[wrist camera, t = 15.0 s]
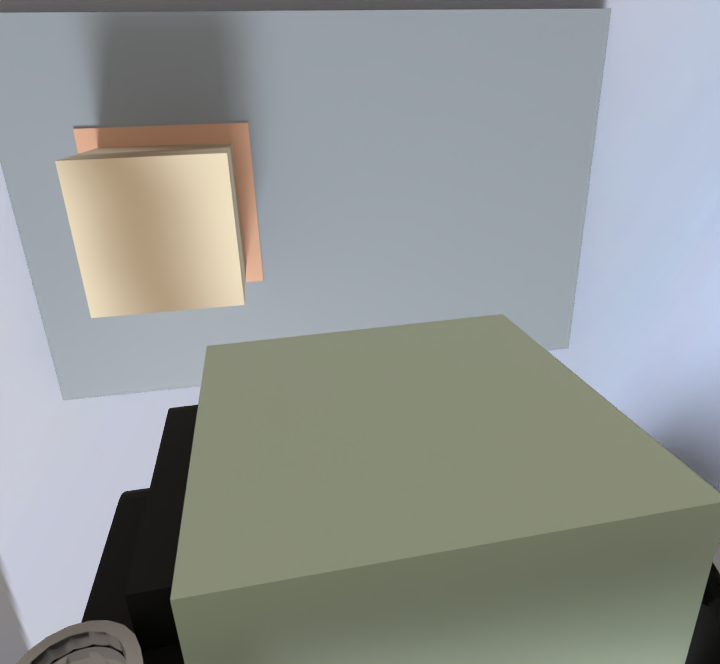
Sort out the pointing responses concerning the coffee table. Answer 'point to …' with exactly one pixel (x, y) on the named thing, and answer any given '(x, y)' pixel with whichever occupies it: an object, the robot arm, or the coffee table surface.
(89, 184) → the birch block
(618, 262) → the coffee table surface
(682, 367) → the coffee table surface
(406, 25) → the board
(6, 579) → the coffee table surface
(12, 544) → the coffee table surface
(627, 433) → the sage block
